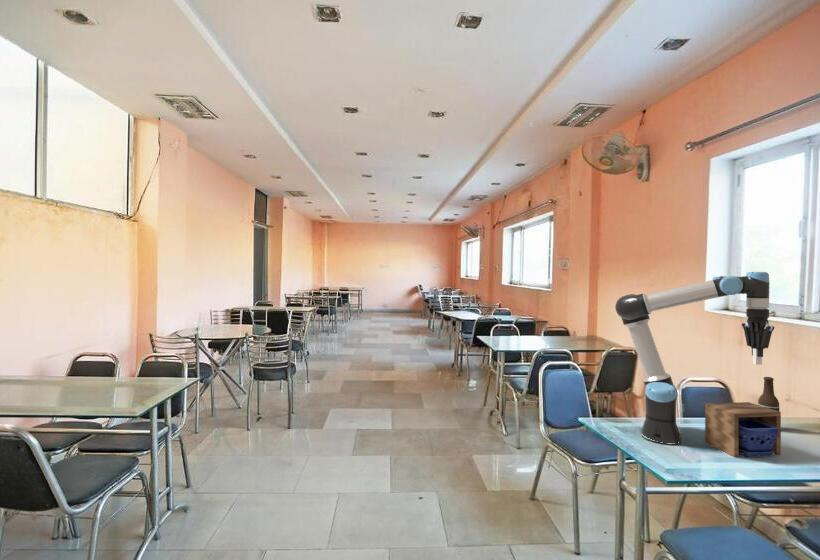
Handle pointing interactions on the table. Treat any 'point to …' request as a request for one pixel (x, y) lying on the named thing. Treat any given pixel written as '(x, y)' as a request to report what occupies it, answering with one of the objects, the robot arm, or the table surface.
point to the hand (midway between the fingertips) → (757, 364)
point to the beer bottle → (768, 395)
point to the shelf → (736, 424)
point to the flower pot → (756, 438)
